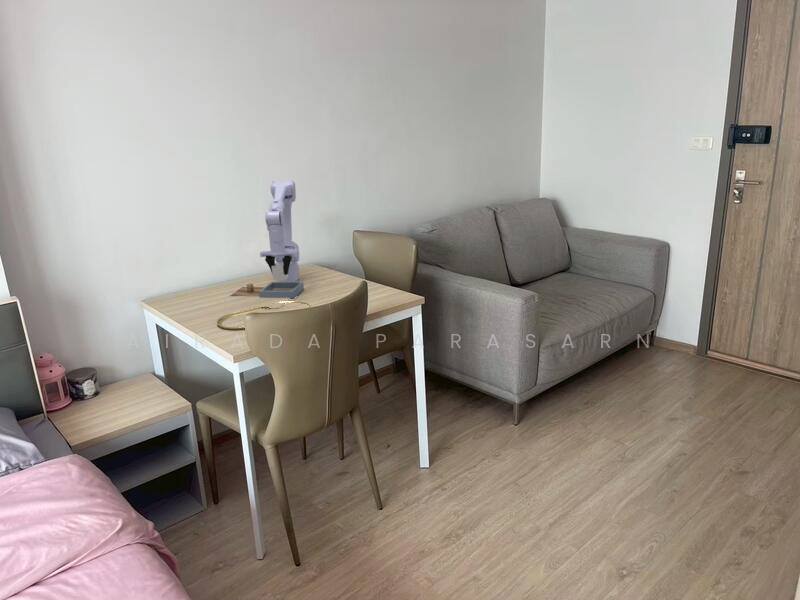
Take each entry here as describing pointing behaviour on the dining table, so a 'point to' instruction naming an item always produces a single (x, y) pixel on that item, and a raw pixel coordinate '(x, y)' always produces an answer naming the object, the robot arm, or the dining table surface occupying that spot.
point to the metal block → (278, 272)
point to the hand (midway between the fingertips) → (280, 274)
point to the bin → (296, 287)
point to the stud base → (244, 292)
